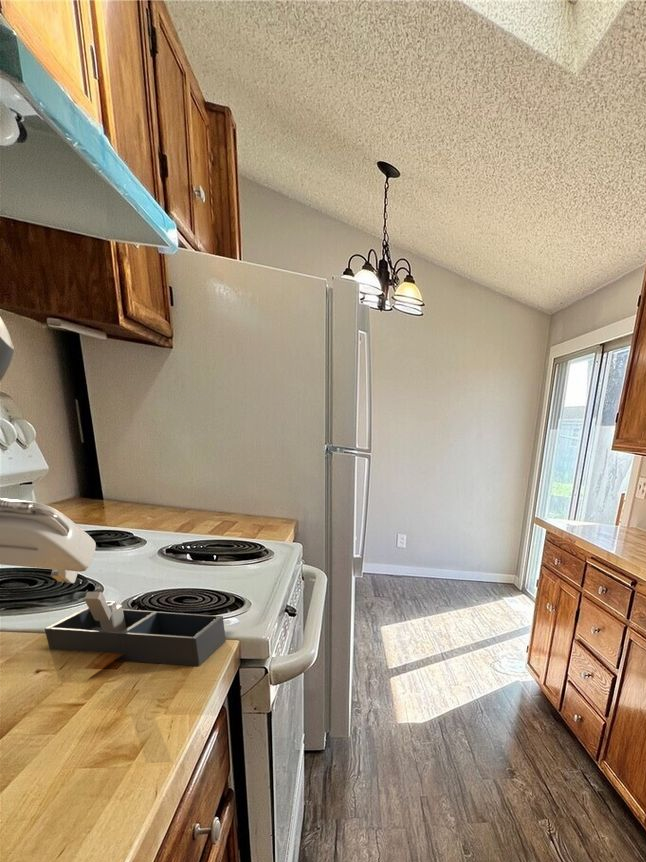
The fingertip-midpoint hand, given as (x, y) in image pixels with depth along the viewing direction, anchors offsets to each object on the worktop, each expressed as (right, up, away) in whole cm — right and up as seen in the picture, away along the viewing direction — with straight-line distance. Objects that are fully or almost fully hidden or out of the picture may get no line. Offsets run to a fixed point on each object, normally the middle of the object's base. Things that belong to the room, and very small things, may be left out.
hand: (24, 573), depth 63 cm
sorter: (+2, -7, +17) cm, 19 cm away
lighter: (-2, -7, +17) cm, 18 cm away
